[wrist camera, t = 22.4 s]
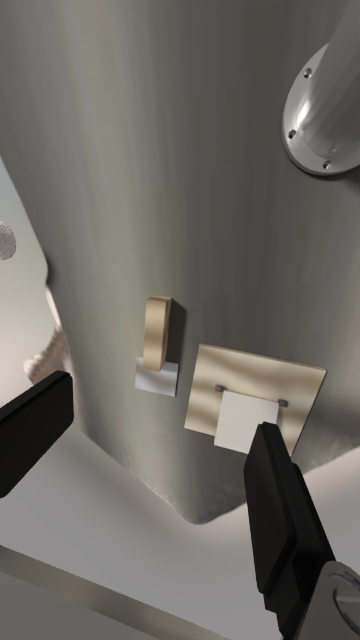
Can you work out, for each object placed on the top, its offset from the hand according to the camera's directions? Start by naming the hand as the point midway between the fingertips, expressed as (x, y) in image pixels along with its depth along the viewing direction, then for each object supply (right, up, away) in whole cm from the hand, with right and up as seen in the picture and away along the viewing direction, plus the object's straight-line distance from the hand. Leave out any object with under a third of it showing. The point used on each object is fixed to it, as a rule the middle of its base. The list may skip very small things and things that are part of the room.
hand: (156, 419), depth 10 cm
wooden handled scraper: (-3, 0, +27) cm, 27 cm away
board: (+13, -9, +26) cm, 31 cm away
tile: (+12, -12, +23) cm, 29 cm away
